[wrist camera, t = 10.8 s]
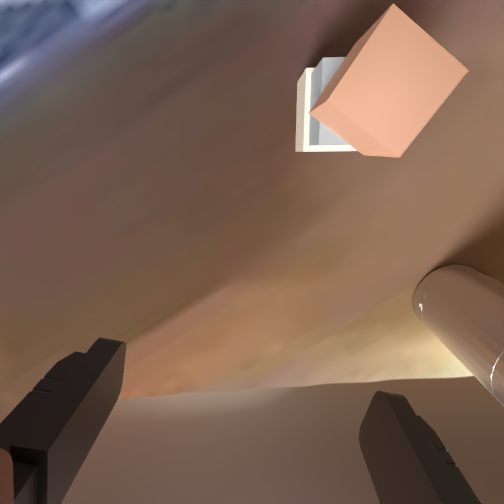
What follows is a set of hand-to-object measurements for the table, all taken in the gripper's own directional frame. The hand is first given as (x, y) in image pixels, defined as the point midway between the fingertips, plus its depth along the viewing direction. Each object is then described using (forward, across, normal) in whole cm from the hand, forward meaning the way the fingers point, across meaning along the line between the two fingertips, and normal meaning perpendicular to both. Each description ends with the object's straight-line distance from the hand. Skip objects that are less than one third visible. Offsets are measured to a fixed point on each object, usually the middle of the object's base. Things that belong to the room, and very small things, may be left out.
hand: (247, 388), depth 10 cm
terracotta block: (+18, -6, -12) cm, 22 cm away
